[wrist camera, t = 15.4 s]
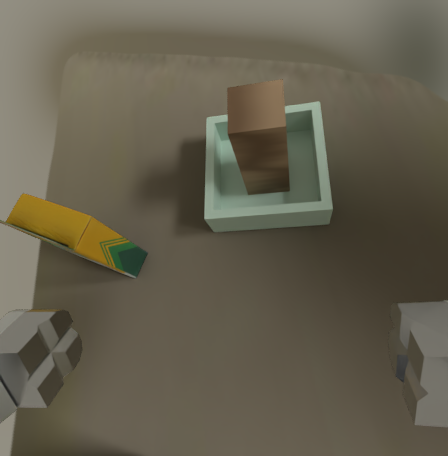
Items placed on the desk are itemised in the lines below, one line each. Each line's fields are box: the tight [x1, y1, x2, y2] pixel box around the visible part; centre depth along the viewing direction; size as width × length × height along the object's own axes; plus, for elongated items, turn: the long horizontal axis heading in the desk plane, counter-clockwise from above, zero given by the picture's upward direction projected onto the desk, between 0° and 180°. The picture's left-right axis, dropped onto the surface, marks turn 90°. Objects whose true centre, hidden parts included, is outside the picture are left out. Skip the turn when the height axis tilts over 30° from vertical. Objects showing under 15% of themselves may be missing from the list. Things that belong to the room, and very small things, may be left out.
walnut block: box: [228, 79, 290, 195], centre depth 27 cm, size 4×4×10 cm
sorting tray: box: [204, 101, 333, 232], centre depth 31 cm, size 11×11×4 cm
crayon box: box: [0, 194, 148, 278], centre depth 28 cm, size 7×3×12 cm, turn 68°
